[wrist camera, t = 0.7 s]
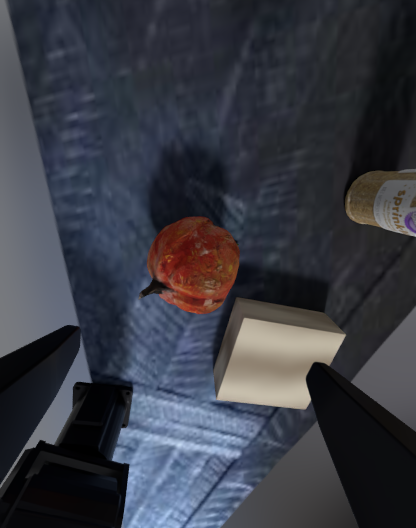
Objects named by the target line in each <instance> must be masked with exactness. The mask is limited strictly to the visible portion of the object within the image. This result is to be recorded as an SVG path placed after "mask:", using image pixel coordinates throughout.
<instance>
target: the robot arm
mask: <svg viewBox="0 0 416 528" xmlns="http://www.w3.org/2000/svg"><path fill="white" fill-rule="evenodd" d="M80 335H81V329H80V327H79V326H73V325H67V326H64V327H62V328H60V329H58V330H56V331H54V332H52V333H50V334H48V335H46V336H44V337H42V338H40V339H38V340H36V341H34V342H32V343H30V344H28V345H26V346H24V347H21V348H20V349H17V350H16V351H13V352H12V353H9V354H7V355H5V356H3V357H1V358H0V484H1V483H2V481H3V480H4V478H5V476H6V475H7V473H8V472H9V470H10V468H11V467H12V465H13V464H14V462H15V461H16V459H17V457H18V456H19V454H20V453H21V451H22V449H23V448H24V446H25V445H26V443H27V441H28V440H29V438H30V437H31V435H32V434H33V432H34V430H35V429H36V427H37V426H38V424H39V422H40V421H41V419H42V418H43V416H44V415H45V413H46V411H47V410H48V408H49V407H50V405H51V403H52V402H53V400H54V398H55V397H56V395H57V393H58V391H59V389H60V387H61V385H62V383H63V381H64V379H65V377H66V375H67V373H68V371H69V369H70V367H71V365H72V363H73V361H74V359H75V357H76V355H77V353H78V351H79V348H80ZM306 384H307V388H308V391H309V395H310V398H311V401H312V405H313V408H314V411H315V415H316V418H317V421H318V424H319V427H320V430H321V432H322V435H323V437H324V440H325V442H326V445H327V447H328V450H329V453H330V455H331V458H332V460H333V463H334V466H335V468H336V471H337V473H338V476H339V478H340V481H341V484H342V486H343V489H344V491H345V494H346V496H347V499H348V501H349V504H350V507H351V509H352V512H353V514H354V517H355V519H356V522H357V525H358V527H359V528H416V432H415V431H414V430H413V429H411V428H410V427H409V426H407V425H406V424H405V423H403V422H402V421H401V420H399V419H398V418H397V417H396V416H394V415H393V414H391V413H390V412H389V411H388V410H386V409H385V408H384V407H382V406H381V405H380V404H378V403H377V402H376V401H374V400H373V399H372V398H370V397H369V396H368V395H366V394H365V393H364V392H363V391H361V390H360V389H358V388H357V387H356V386H355V385H353V384H352V383H351V382H349V381H348V380H347V379H345V378H344V377H343V376H341V375H340V374H339V373H337V372H336V371H335V370H334V369H332V368H331V367H330V366H328V365H327V364H325V363H322V362H314V363H313V364H312V366H311V368H310V369H309V371H308V373H307V375H306ZM132 395H133V389H132V388H130V387H122V386H113V385H104V384H94V383H84V382H76V383H75V385H74V387H73V410H72V412H71V414H70V416H69V418H68V420H67V421H66V423H65V425H64V427H63V429H62V431H61V433H60V435H59V437H58V438H57V440H56V442H55V444H54V445H52V444H48V443H45V442H46V441H43V440H40V441H39V442H38V444H37V446H36V447H35V448H31V449H27V450H25V451H24V453H23V455H22V456H21V458H20V459H19V461H18V463H17V464H16V466H15V467H14V469H13V471H12V472H11V474H10V475H9V476H8V478H7V479H6V481H5V482H4V484H3V485H2V487H1V488H0V528H121V525H122V520H123V514H124V507H125V498H126V490H127V481H128V473H129V464H127V463H124V464H122V463H118V462H115V461H112V458H113V454H114V451H115V448H116V444H117V441H118V437H119V434H120V430H121V428H126V427H127V426H128V422H129V415H130V409H131V402H132Z"/></svg>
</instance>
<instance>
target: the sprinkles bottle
mask: <svg viewBox="0 0 416 528" xmlns="http://www.w3.org/2000/svg"><path fill="white" fill-rule="evenodd" d="M345 210H346V212H347V215H348V216H349V217H350V219H352V220H353V221H355V222H357V223H360V224H370V225H374V226H379V227H382V228H384V229H387V230H391V231H395V232H399V233H403V234H407V235H411V236H415V237H416V169H407V170H402V171H390V172H384V171H371V172H368V173H366V174H363V175H361V176H360V177H358V178H357V179H356V180H355V181H354V182H353V184H352V185H351V187H350V189H349V190H348V192H347V195H346V197H345Z"/></svg>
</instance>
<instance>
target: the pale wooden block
mask: <svg viewBox="0 0 416 528" xmlns="http://www.w3.org/2000/svg"><path fill="white" fill-rule="evenodd" d="M345 336H346V334H345V333H344V332H343V331H342V330H341V329H340V328H339V327H338V326H337V325H336V324H335V323H334V322H333V321H332V320H331V319H330V318H329V317H328V316H327V315H326V314H325V313H322V312H317V311H311V310H306V309H300V308H295V307H289V306H283V305H278V304H272V303H267V302H261V301H256V300H250V299H245V298H239V297H236V300H235V303H234V306H233V309H232V313H231V316H230V319H229V322H228V325H227V328H226V332H225V335H224V338H223V341H222V344H221V348H220V351H219V354H218V357H217V360H216V363H215V367H214V370H213V373H214V382H215V392H216V400H224V401H233V402H242V403H251V404H260V405H269V406H278V407H287V408H296V409H306V408H307V406H308V404H309V402H310V400H311V398H310V395H309V391H308V388H307V384H306V375H307V373H308V371H309V369H310V368H311V366H312V364H313V363H314V362H322V363H325V364H327V365H328V366H329V365H330V363H331V362H332V360H333V358H334V356H335V354H336V352H337V350H338V349H339V347H340V345H341V343H342V341H343V339H344V338H345Z"/></svg>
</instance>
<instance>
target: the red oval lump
mask: <svg viewBox="0 0 416 528" xmlns="http://www.w3.org/2000/svg"><path fill="white" fill-rule="evenodd" d="M237 245H239V244H236V242H235V240H234V239H233V237H232V235H231V234H230V233H229V232H228V231H227V230H225V229H223V228H220V227H218V226H215V225H213V223H212V221H211V220H209V218H206V217H200V216H199V217H186V218H183V219H181V220H178V221H177V222H175V223H172V224H170V225H168V226H165V227H164V228H163V229H162V230H161V232H160V233H159V234H158V235H157V237H156V238H155V240H154V241H153V243H152V245H151V248H150V250H149V253H148V259H147V268H148V271H149V273H150V275H151V277H152V279H153V280H152V282H151V284H150V286H148V287H147V288H146V289H144V290H142V291H141V292H140V295H139V299H141V298H142V297H145V296H147V295H150V294H153V293H156V294H159V295H160V297H161V298H162V299H164V300H165V301H167V302H168V303H170V304H174V305H177V306H178V307H179V308H181V309H183V310H185V311H187V312H193V313H197V314H205V313H210V312H212V311H214V310H216V309H217V308H218V307H219V306H221V305H222V304H223V302H224V300H225V298H226V296H227V294H228V292H229V290H230V289H231V287H232V285H233V283H234V281H235V279H236V275H237V271H238V267H239V254H240V251H239V248H238V246H237Z"/></svg>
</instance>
